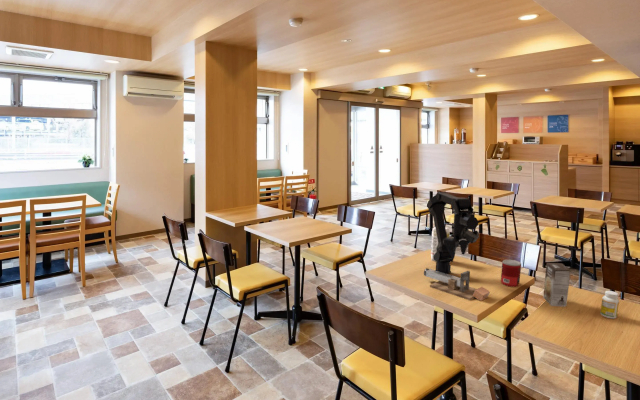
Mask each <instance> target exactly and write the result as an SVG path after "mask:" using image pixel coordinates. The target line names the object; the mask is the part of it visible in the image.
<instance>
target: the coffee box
mask: <svg viewBox="0 0 640 400" xmlns="http://www.w3.org/2000/svg"><path fill="white" fill-rule="evenodd" d="M545 266H546V267H545V277H544V283H543V284H544V287H543V295H542V296H543V299H544V300H545V301H546V302H547V303H548V304H549V306H551V307H562V308H563V307H567V305H568V304H567V303H568V297H569V296H568V295H569V287H570V280H571V279H570V278H571V273H572V272H571V269H570V268H568V267H567V266H565V264H564V263H561V262H560V263H559V262H546V265H545Z"/></svg>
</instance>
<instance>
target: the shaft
mask: <svg viewBox="0 0 640 400" xmlns="http://www.w3.org/2000/svg"><path fill="white" fill-rule="evenodd" d="M435 270H436V269H431V268H425V269H424V270H423V276H425V277H427V278H430V279H434V280H436V281H442V282H445V283H448V279H451V280H454V281H455V286H458V287H460V279H461V277H458V276H455V275H451V274H450V273H448V274H445V273H442V272H438V271H435Z"/></svg>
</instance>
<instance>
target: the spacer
mask: <svg viewBox="0 0 640 400" xmlns="http://www.w3.org/2000/svg"><path fill="white" fill-rule="evenodd" d="M475 289H476V290H475V291H474V294H473V296H474V297H475V298H476V299H477V300H478V301H481V302H482V301H483V300H485V299H487V298H488V297H489V295H490V292H491V291H490V290H488V289H487V288H485V287H484V286H481V287H478V288H475Z"/></svg>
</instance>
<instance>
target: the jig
mask: <svg viewBox="0 0 640 400" xmlns="http://www.w3.org/2000/svg"><path fill="white" fill-rule="evenodd" d="M470 273H471V271H470V270H466V271H464V272H462V273H460V278H461V279H460V287H458V286H455V281H454V280H451V279H448V283H445V282H442V281H439V280H437V281H436V282H433V283H431V284H429V287H430V288H432V289H435V290H438V291H441V292H444V293H447V294H449V295H453V296H456V297H458V298H462V299H464V300H468V301H471V300H473V299H475V298H476V297H474V296H473V294H474V291H475V290H476V289H477V288H476V287H473V286H470V277H471V276H470V275H471V274H470Z"/></svg>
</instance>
